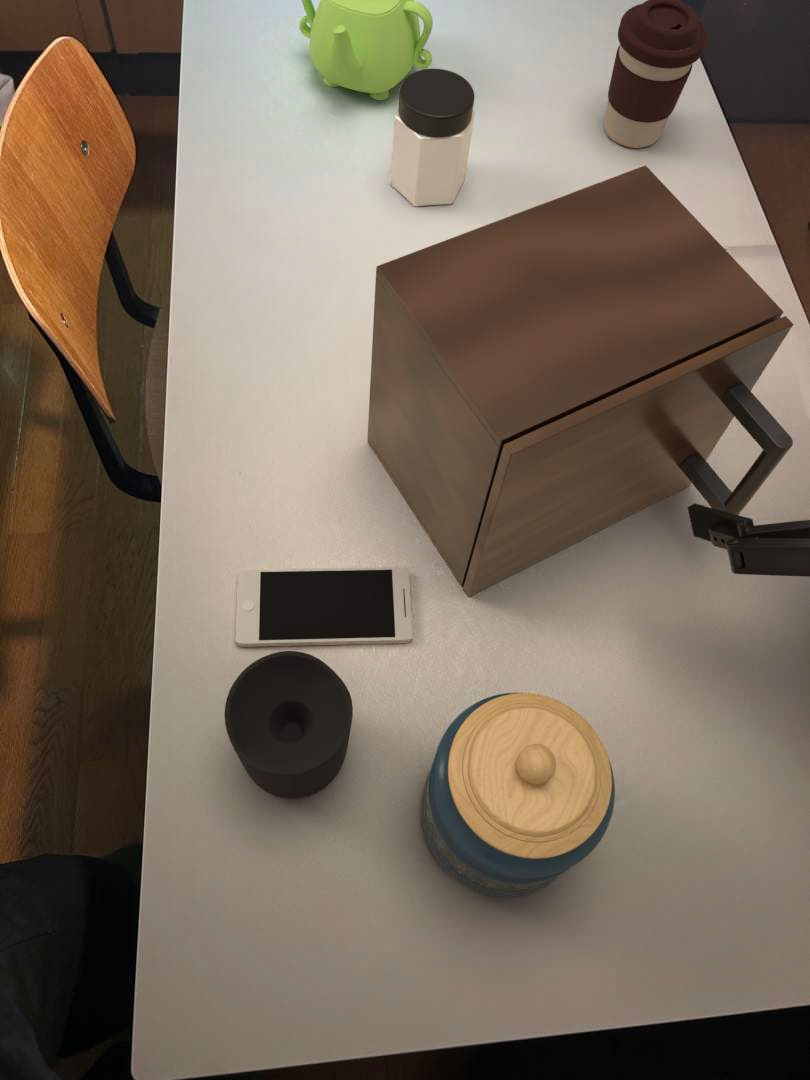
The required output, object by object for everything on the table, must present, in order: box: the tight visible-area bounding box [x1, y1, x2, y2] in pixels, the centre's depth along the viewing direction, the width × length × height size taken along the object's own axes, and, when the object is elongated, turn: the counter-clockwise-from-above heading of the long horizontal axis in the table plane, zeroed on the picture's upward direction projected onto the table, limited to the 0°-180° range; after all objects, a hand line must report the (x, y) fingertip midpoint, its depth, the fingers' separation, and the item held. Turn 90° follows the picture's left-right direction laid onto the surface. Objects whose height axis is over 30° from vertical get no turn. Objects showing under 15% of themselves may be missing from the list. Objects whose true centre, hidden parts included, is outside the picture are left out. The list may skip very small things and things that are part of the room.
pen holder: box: [224, 650, 354, 799], centre depth 73 cm, size 9×9×10 cm
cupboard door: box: [462, 315, 794, 598], centre depth 77 cm, size 8×26×24 cm, turn 120°
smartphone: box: [235, 566, 414, 648], centre depth 83 cm, size 7×15×1 cm, turn 93°
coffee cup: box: [603, 0, 708, 149], centre depth 110 cm, size 10×10×15 cm
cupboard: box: [367, 164, 784, 588], centre depth 82 cm, size 18×26×24 cm
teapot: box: [298, 0, 434, 101], centre depth 113 cm, size 16×14×13 cm
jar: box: [389, 68, 476, 207], centre depth 105 cm, size 9×8×12 cm
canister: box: [420, 692, 616, 898], centre depth 68 cm, size 13×13×18 cm
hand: (755, 486), depth 79 cm, fingers open, 13 cm apart
